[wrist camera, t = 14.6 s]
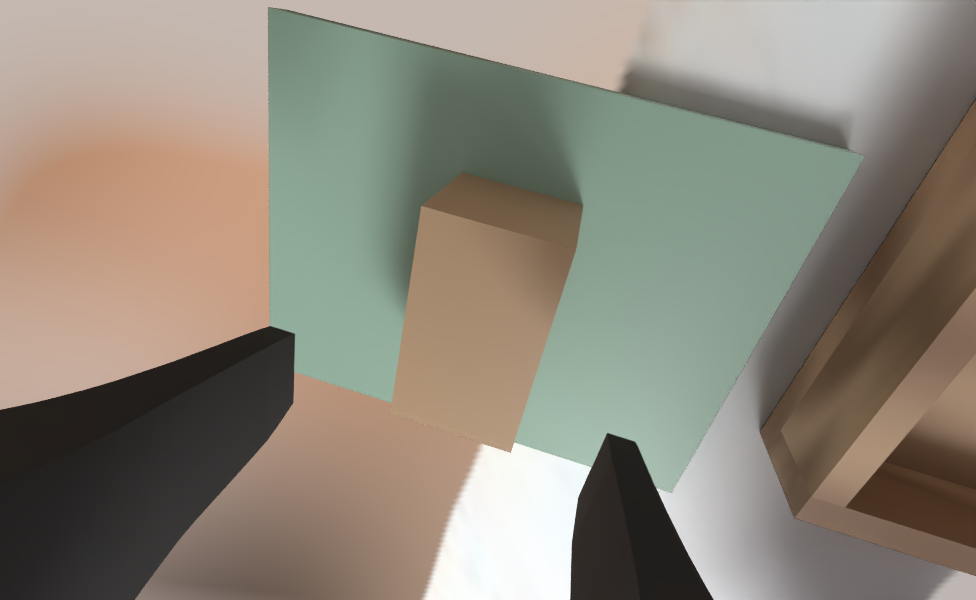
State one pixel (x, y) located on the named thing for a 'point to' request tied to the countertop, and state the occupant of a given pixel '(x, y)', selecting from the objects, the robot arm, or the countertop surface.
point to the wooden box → (896, 385)
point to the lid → (525, 242)
